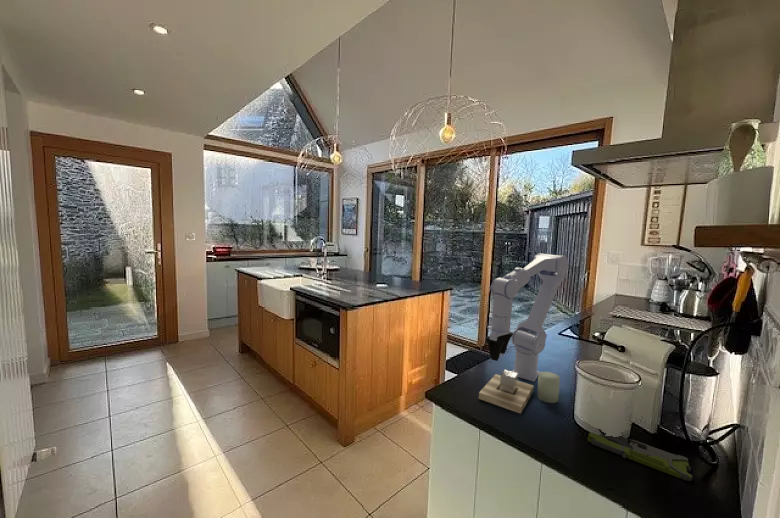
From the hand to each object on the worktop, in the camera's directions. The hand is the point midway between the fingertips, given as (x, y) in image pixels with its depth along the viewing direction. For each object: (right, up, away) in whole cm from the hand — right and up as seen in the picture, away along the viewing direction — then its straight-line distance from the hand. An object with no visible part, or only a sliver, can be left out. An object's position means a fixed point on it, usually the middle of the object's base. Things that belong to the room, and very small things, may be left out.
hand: (497, 356), depth 106 cm
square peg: (+1, -10, -6) cm, 12 cm away
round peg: (+13, -11, -7) cm, 18 cm away
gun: (+24, -14, -27) cm, 39 cm away
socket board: (+1, -10, -6) cm, 12 cm away
